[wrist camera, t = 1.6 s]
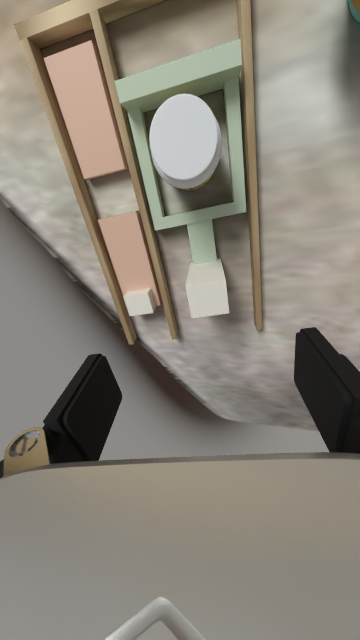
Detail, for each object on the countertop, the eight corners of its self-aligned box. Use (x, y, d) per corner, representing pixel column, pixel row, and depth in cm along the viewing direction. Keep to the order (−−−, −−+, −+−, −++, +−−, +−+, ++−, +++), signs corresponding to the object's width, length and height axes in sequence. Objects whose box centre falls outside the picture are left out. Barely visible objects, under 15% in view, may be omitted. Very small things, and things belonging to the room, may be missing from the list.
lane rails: (243, -50, 15) (247, -75, 13) (259, 322, 27) (262, 329, 26) (28, 37, 18) (14, 24, 16) (132, 338, 30) (129, 344, 29)
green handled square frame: (235, 62, 17) (251, -13, 11) (248, 281, 25) (262, 309, 19) (127, 97, 18) (88, 48, 12) (171, 292, 26) (161, 322, 20)
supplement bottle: (182, 202, 22) (171, 204, 15) (153, 152, 20) (124, 126, 13) (227, 168, 20) (239, 153, 13) (200, 111, 19) (196, 56, 11)
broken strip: (97, 47, 17) (82, 27, 15) (162, 303, 27) (158, 312, 25) (51, 64, 18) (31, 47, 16) (130, 307, 28) (124, 316, 26)
